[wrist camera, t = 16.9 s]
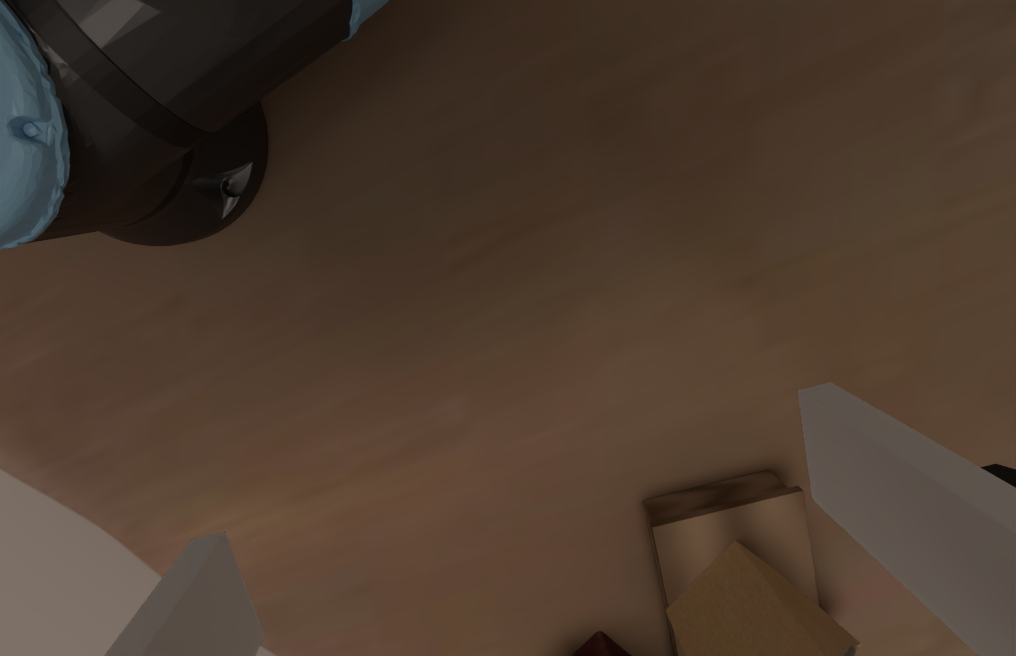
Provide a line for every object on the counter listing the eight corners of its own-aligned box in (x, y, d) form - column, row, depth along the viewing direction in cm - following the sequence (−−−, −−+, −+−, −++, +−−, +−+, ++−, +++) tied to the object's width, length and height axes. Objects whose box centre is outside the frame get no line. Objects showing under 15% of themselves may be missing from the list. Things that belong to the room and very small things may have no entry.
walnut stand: (674, 681, 60) (692, 725, 55) (636, 496, 55) (652, 527, 51) (801, 649, 60) (831, 691, 55) (773, 462, 56) (803, 490, 51)
